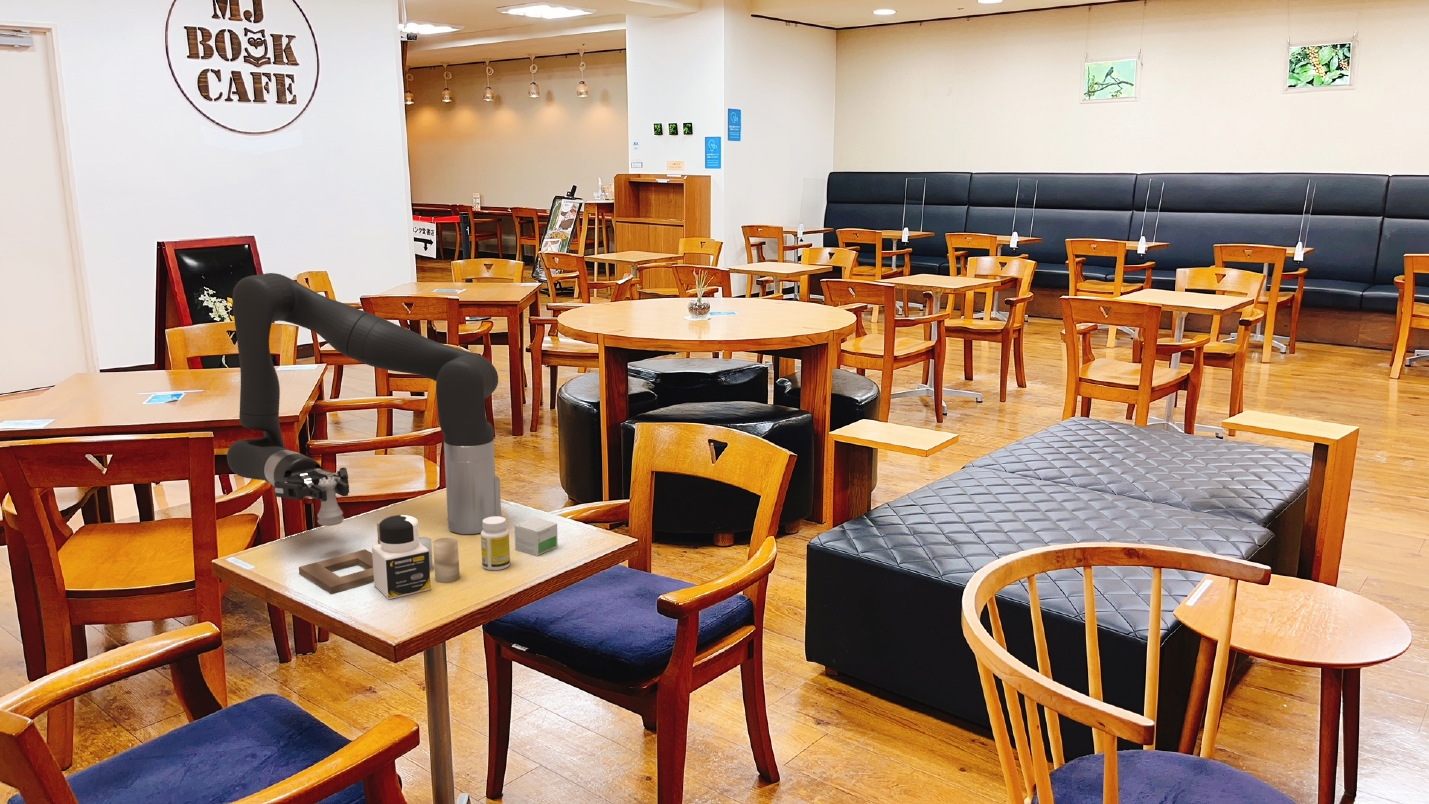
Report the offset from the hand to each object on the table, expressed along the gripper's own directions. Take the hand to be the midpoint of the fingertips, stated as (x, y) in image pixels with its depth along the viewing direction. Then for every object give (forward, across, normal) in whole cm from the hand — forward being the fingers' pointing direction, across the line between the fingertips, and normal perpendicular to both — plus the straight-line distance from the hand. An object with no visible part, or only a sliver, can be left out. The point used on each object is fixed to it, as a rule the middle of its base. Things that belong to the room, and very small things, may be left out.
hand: (335, 493), depth 178 cm
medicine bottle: (+19, +1, +12) cm, 23 cm away
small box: (+20, +28, +13) cm, 36 cm away
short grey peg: (+14, +8, +12) cm, 20 cm away
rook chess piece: (-3, 0, +6) cm, 7 cm away
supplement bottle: (+22, +18, +13) cm, 31 cm away
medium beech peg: (+21, +9, +12) cm, 26 cm away
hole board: (+8, -2, +12) cm, 15 cm away
